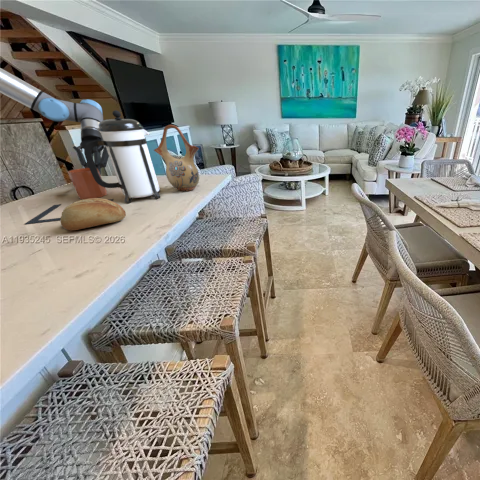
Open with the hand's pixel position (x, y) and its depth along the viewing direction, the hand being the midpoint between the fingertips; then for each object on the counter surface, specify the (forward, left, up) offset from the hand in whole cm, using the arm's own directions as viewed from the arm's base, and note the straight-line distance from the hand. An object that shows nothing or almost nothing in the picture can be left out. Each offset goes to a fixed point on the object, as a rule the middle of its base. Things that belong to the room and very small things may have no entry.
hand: (94, 181), depth 106 cm
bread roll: (+12, -41, -4) cm, 43 cm away
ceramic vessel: (+34, -11, -4) cm, 36 cm away
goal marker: (0, -22, -4) cm, 22 cm away
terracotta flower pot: (0, -6, -4) cm, 7 cm away
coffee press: (+18, -16, -4) cm, 24 cm away
